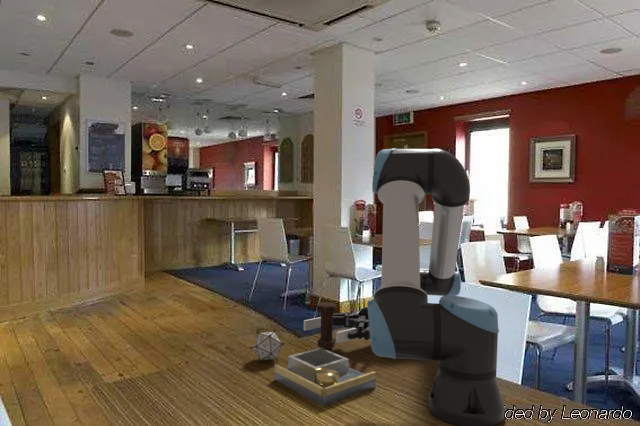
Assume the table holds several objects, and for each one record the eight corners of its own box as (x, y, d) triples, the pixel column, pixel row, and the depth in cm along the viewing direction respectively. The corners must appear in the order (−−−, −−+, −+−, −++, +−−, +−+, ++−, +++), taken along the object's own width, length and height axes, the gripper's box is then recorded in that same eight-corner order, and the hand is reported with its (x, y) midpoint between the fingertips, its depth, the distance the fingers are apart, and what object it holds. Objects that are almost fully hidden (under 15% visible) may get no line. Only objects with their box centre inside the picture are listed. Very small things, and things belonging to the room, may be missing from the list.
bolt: (333, 363, 127) (334, 307, 126) (314, 362, 128) (315, 306, 127) (337, 356, 133) (338, 302, 132) (319, 354, 134) (319, 301, 133)
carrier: (375, 387, 112) (375, 365, 112) (323, 406, 102) (323, 383, 102) (324, 364, 126) (325, 345, 126) (274, 379, 116) (274, 359, 116)
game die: (271, 376, 128) (278, 354, 122) (242, 362, 129) (248, 340, 123) (284, 350, 135) (291, 328, 129) (257, 338, 136) (262, 315, 130)
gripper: (408, 341, 133) (352, 358, 120) (346, 321, 152) (292, 334, 139) (408, 314, 133) (353, 328, 119) (346, 298, 152) (292, 308, 138)
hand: (320, 331), depth 129 cm, fingers open, 13 cm apart
